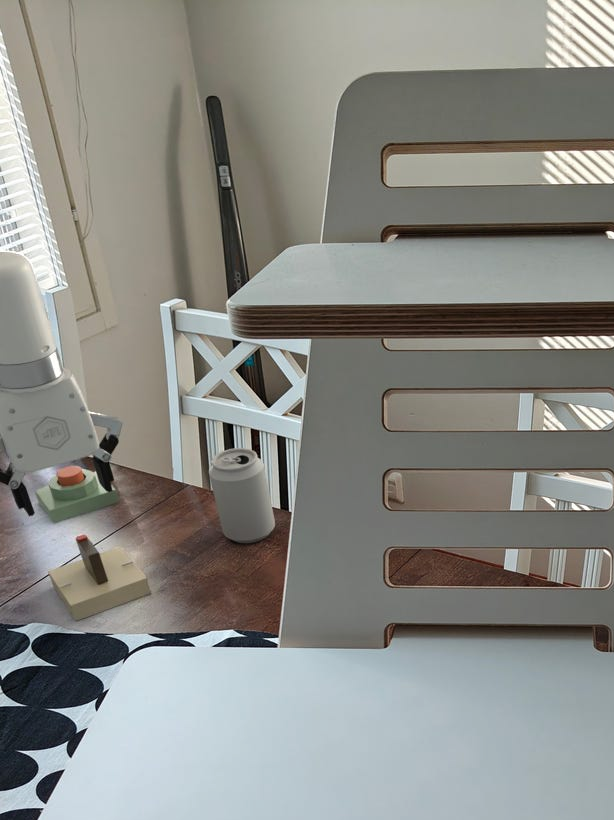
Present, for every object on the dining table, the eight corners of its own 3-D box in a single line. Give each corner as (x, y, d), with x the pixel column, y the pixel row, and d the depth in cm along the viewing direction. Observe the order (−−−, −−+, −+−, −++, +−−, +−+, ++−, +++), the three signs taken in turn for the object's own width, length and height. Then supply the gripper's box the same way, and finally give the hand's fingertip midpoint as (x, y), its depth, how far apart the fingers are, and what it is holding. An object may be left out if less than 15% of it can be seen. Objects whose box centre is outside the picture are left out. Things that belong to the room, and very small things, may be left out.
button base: (53, 523, 145) (45, 500, 142) (38, 502, 150) (30, 479, 148) (119, 502, 149) (112, 479, 147) (102, 482, 155) (95, 459, 152)
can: (281, 538, 139) (266, 462, 132) (228, 551, 137) (210, 474, 130) (270, 514, 145) (255, 440, 137) (219, 525, 143) (202, 451, 135)
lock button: (63, 490, 146) (60, 479, 145) (56, 480, 148) (53, 470, 147) (87, 482, 147) (84, 472, 146) (80, 473, 150) (77, 463, 148)
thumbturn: (108, 581, 127) (98, 550, 124) (98, 585, 127) (87, 554, 124) (95, 563, 131) (85, 533, 128) (84, 566, 130) (74, 536, 127)
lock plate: (76, 621, 125) (70, 604, 123) (53, 586, 132) (47, 570, 130) (151, 593, 129) (146, 576, 128) (125, 561, 136) (120, 544, 134)
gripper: (-46, 398, 105) (4, 534, 116) (112, 360, 113) (146, 490, 124) (-61, 376, 110) (-12, 508, 121) (91, 340, 118) (125, 467, 128)
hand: (68, 499), depth 122 cm, fingers open, 9 cm apart
